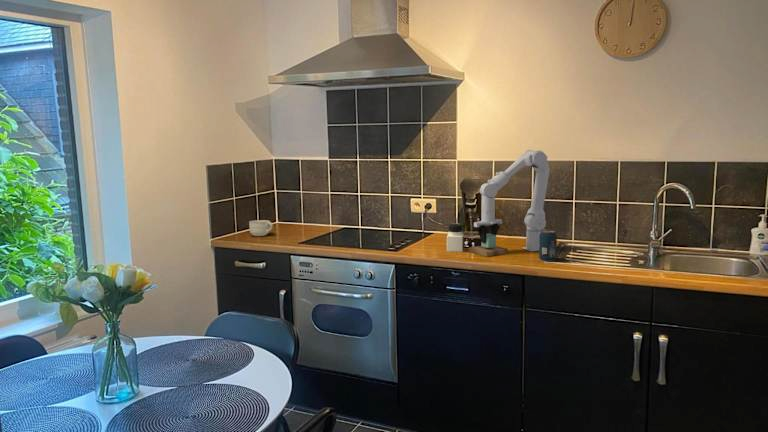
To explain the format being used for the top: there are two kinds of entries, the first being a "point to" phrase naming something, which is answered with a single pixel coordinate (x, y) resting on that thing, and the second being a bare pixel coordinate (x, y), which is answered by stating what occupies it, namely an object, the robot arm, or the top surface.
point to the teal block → (489, 241)
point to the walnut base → (487, 250)
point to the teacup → (260, 227)
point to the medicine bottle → (455, 238)
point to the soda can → (547, 245)
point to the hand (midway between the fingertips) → (487, 241)
